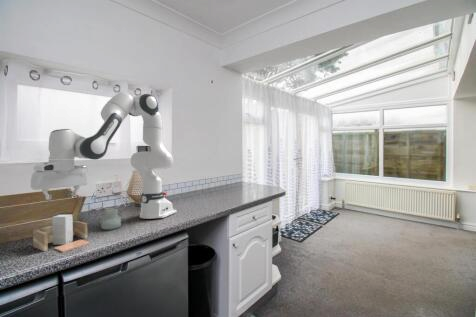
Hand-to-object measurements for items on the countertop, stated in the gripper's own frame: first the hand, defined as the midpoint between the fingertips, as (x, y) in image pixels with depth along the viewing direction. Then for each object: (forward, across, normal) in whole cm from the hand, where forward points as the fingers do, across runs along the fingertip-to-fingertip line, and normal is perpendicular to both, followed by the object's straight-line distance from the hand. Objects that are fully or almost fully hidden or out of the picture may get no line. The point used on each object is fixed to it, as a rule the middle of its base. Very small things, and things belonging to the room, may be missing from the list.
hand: (61, 197), depth 98 cm
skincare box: (+20, 0, 0) cm, 20 cm away
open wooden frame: (+20, 0, 0) cm, 20 cm away
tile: (+20, 0, +8) cm, 21 cm away
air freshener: (+20, -22, 0) cm, 30 cm away
